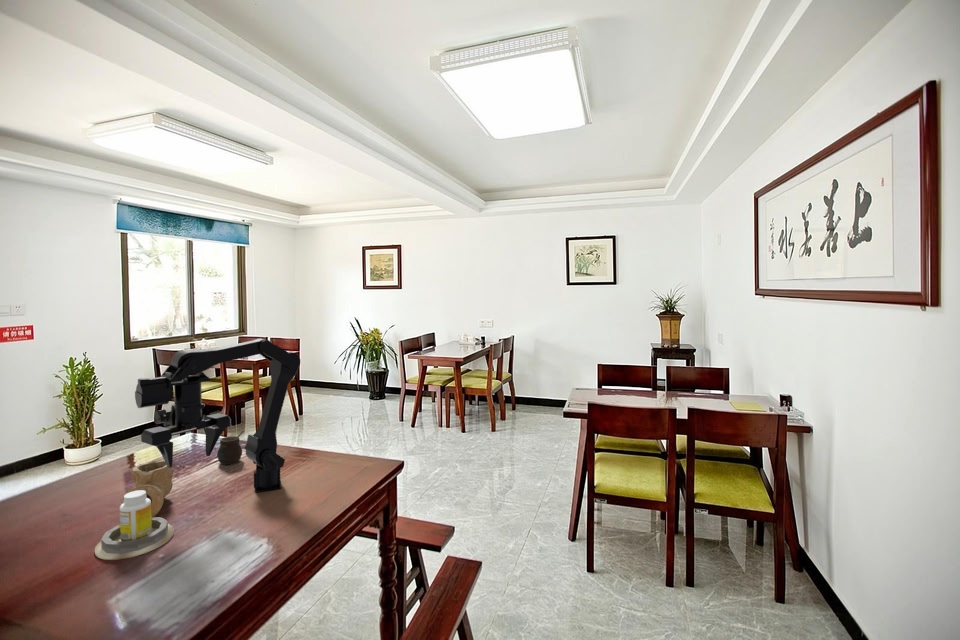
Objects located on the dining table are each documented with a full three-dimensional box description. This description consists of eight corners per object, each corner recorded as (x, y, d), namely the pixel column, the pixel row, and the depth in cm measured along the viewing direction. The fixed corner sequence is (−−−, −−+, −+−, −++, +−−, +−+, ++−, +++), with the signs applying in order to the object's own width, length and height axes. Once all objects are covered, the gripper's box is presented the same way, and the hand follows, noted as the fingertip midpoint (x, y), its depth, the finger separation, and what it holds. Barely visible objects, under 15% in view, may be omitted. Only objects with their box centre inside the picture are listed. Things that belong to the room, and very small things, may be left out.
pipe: (118, 526, 106) (117, 485, 105) (137, 497, 120) (136, 461, 120) (164, 518, 110) (163, 479, 109) (176, 491, 124) (176, 456, 124)
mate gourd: (214, 461, 146) (214, 431, 146) (239, 456, 151) (239, 427, 151) (219, 468, 141) (219, 437, 140) (246, 462, 146) (246, 432, 145)
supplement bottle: (155, 529, 103) (153, 486, 103) (147, 542, 98) (146, 497, 98) (125, 534, 101) (124, 490, 101) (116, 547, 96) (115, 501, 96)
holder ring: (178, 520, 109) (178, 509, 109) (167, 550, 96) (167, 538, 96) (106, 532, 103) (106, 521, 103) (84, 566, 90) (84, 554, 90)
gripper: (207, 390, 124) (208, 445, 125) (128, 404, 107) (130, 467, 108) (231, 395, 118) (232, 452, 119) (152, 410, 102) (154, 477, 103)
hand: (189, 461), depth 113 cm, fingers open, 9 cm apart
